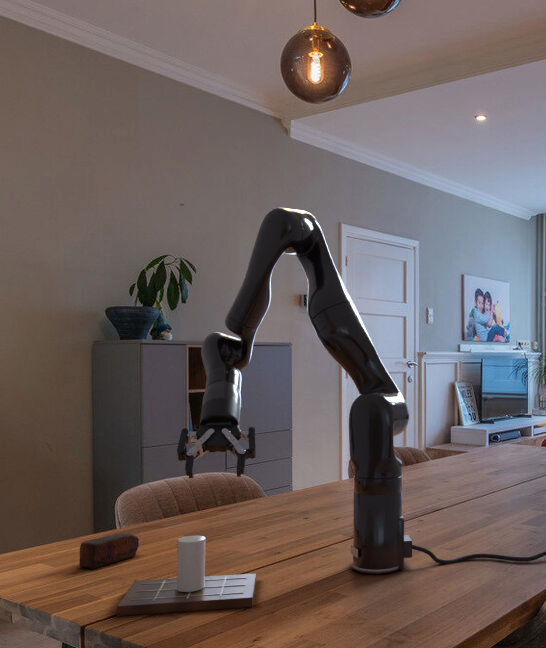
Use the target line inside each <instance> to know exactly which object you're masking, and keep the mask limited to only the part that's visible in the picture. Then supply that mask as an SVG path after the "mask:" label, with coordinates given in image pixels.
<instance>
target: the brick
mask: <svg viewBox="0 0 546 648" xmlns="http://www.w3.org/2000/svg"><path fill="white" fill-rule="evenodd" d="M139 541H140V539H139V537H138V536H137V535H135V534H133V533H129V532H118V533H114V534H111V535H106V536H102V537H99V538H93V539H88V540H85V541H82V542H81V543H80V546H79V564H78V566H79V567H80V568H86V569H90V570H91V569H92V570H95V569H99V568H102V567H105V566H109V565H112V564H115V563H118V562H120V561H121V562H122V561H124V560H127V559H130V558H133V557H136V555H137V551H138V550H139V545H140V544H139Z"/></svg>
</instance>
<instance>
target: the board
mask: <svg viewBox="0 0 546 648" xmlns="http://www.w3.org/2000/svg"><path fill="white" fill-rule="evenodd" d="M256 584H257V573H243V574H241V573H239V574H226V575H225V574H224V575H207V576H206V575H205V587H204V588H203V589H201V590H198V591H193V592H181V591H178V590H177V577H173V578H172V577H171V578H156V579H154V578H153V579H137V580H134V582H133V583H132V584H131V586H130V587H129V588H128V590H127V592H125V594H124V596H123V598H121V600H120V602H119V603H118V605H117V606H116V616H117V617H123V616H137V615H139V616H140V615H153V614H154V615H155V614H167V613H181V612H182V613H184V612H197V611H211V610H223V609H224V610H227V609H241V608H243V609H244V608H253V606H254V605H253V604H254V598H255V591H256Z"/></svg>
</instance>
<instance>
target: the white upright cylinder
mask: <svg viewBox="0 0 546 648" xmlns="http://www.w3.org/2000/svg"><path fill="white" fill-rule="evenodd" d="M176 544H177V545H176V546H177V547H176V548H177V549H176V551H177V552H176V559H177V560H176V578H177V590H178V591H181V592H193V591H198V590H201V589H203V588H204V587H205V576H206V555H207V554H206V546H207V538H206V536H204V535H185V536H182V537H179V538H177V543H176Z"/></svg>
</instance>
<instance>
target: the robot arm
mask: <svg viewBox="0 0 546 648" xmlns="http://www.w3.org/2000/svg"><path fill="white" fill-rule="evenodd" d="M283 255H294V256H295V257H296V258H297V260H298V261H299V263H300V266H301V268H302V270H303V272H304V274H305V276H306V280H307V300H306V307H307V308H306V309H307V315H308V318H309V320H310V323H311V325H312V328H313V329H314V331H315V334H316V337H317V338H318V340H319V341H320V344H321V345H322V346H323V348H324V349H325V350H326V351H327V353H328V354H329V355H330V356H331V357H332V359H334V360H335V362H337V364H338V365H339V366H340V367H341V368H342V369H343V370H344V371H345V372H346V373H347V374H348V376H349V377H350V378H351V380H352V382H353V383H354V385H355V388H356V389H357V392H358V393H359V394H358V396H357V397H355V399H354V400H353V402H352V404H351V406H350V409H349V415H348V445H349V448H348V449H349V459H350V462H351V464H352V466H353V511H352V513H353V515H352V520H353V523H352V524H353V525H352V527H353V528H352V544H350V554H351V555H352V564H351V565H352V567H351V568H352V569H353V570H354V571H356V572H359V573H363V574H372V575H373V574H374V575H378V574H389V573H394V572H396V571H403V570H404V569H405V559H409V558H411V559H412V558H413V550H415V551H418V552H421V553H424V554H426V555H427V556H429V557H430V558H431V559H432V560H433V561H434V563H437V564H441V565H448V564H455V563H460V562H465V561H468V560H473V559H494V560H502V561H503V560H504V561H510V562H532V561H535V560H538V559H540V558H544V557H546V550H544V551H541V552H539V553H536V554H534V555H531V556H511V555H504V554H495V553H471V554H467V555H464V556H460V557H457V558H453V559H441V558H439V557H437V556H436V555H435V554H434V553H433V552H432V550H429V549H427V548H425V547H422V546H419V545H415V544H413V540H412V539H411V537H410V535H409V534H405V518H404V516H403V474H404V473H403V469H404V468H403V467H404V465H403V461H402V460H401V459H400V458H399V457H397V455H396V452H395V448H394V446H395V445H394V437H396V436H399V435H401V434H402V433H404V431H405V430H406V428H407V427H408V425H409V421H410V409H409V406H408V403H407V401H406V399H405V397H404V395H403V393H402V392H401V390H400V389H399V387H398V386H397V384H396V383H395V381H394V379H393V378H392V377H391V374H390V373H389V371H388V370H387V368H386V366H385V364H384V363H383V361H382V359H381V358H380V356H379V353H378V351H377V348H376V347H375V344H374V343H373V340H372V338H371V336H370V335H369V332H368V331H367V328H366V326H365V324H364V322H363V319H362V317H361V316H360V314H359V311H358V309H357V307H356V305H355V303H354V300H352V298H351V295H350V294H349V292H348V290H347V287H346V286H345V284H344V281H343V280H342V277H341V274H340V273H339V271H338V269H337V267H336V264H335V262H334V260H333V257H332V255H331V252H330V248H329V247H328V244H327V241H326V238H325V236H324V232H323V230H322V228H321V225H320V223H319V221H318V220H317V218H316V217H315V216H314V214H312V213H310V212H308V211H306V210H301V209H297V208H296V209H293V208H287V207H275V208H272V209H270V210H269V211H268V212H267V213H266V214H265V216H264V217H263V219H262V221H261V223H260V226H259V228H258V232H257V234H256V238H255V242H254V245H253V248H252V250H251V255H250V258H249V262H248V265H247V268H246V271H245V275H244V278H243V281H242V283H241V286H240V289H239V291H238V292H237V294H236V296H235V298H234V300H233V302H232V303H231V307H230V308H229V310H228V312H227V314H226V316H225V319H224V325H225V327H226V328H227V330H228V331H230V332H231V333H232V334H234V335H236V336H237V337H235V336H231V335H229V334H226V333H222V332H218V331H216V332H211V333H209V334H208V335H206V337H205V338H204V340H203V341H202V343H201V350H200V355H201V361H202V365H203V368H204V373H205V378H206V381H205V389H204V394H203V397H202V404H201V412H200V420H199V427H198V429H197V430H196V431H191V430H190V431H189V429H188V428H186V427H185V428H182V429H181V431H180V435H179V440H178V445H177V448H176V453H177V459H178V461H179V462H183V461H185V467H184V470H185V475H186V477H188V479H194V476H195V475H194V474H195V468H196V461H197V460H198V459H199V458H200V457H201V458H202V457H203V456H205V454H206V453H207V452H208V453H216V452H217V453H218V452H220V453H226V452H227V451H229V452H230V454H232V455H233V456H235V457H236V458H237V459H236V477H237V478H241V477H242V475H244V474H245V472H246V461H247V460H248V459H252V460H253V459H255V458H256V457H257V452H256V451H257V450H256V428H255V427H254V426H249V427H248V429H244V430H241V428H240V423H241V411H242V395H241V392H242V391H241V389H242V373H241V371H243V370H245V369H246V368H247V367H248V366H249V364H251V363H250V362H251V359H252V353H253V347H254V342H255V337H256V334H257V332H258V329H259V327H260V325H261V324H262V322H263V320H264V318H265V316H266V314H267V312H268V311H269V307H270V305H271V300H272V284H271V281H272V275H273V271H274V269H275V267H276V265H277V263H278V262H279V260H280V259H281V258H282V256H283ZM241 438H244V441H246V443H248V448H246V449H245V448H244V446H242V445H241V443H240V440H241ZM194 439H195V440H196V441H195V442H194V443H193V446H192V447H190V448H189V449H188V446H189V445H190V444H191V443H192V442H193V440H194Z"/></svg>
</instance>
